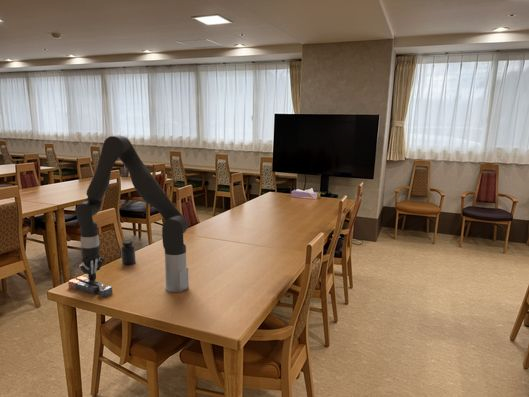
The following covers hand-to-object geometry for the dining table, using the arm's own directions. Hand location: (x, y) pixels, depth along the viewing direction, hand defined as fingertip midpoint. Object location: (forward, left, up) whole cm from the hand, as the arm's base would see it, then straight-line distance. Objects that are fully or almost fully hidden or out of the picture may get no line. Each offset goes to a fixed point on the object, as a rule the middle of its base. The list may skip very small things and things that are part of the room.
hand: (92, 280), depth 170 cm
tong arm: (-2, +3, -1) cm, 4 cm away
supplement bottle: (+6, -27, -2) cm, 28 cm away
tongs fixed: (-5, +5, -1) cm, 8 cm away
